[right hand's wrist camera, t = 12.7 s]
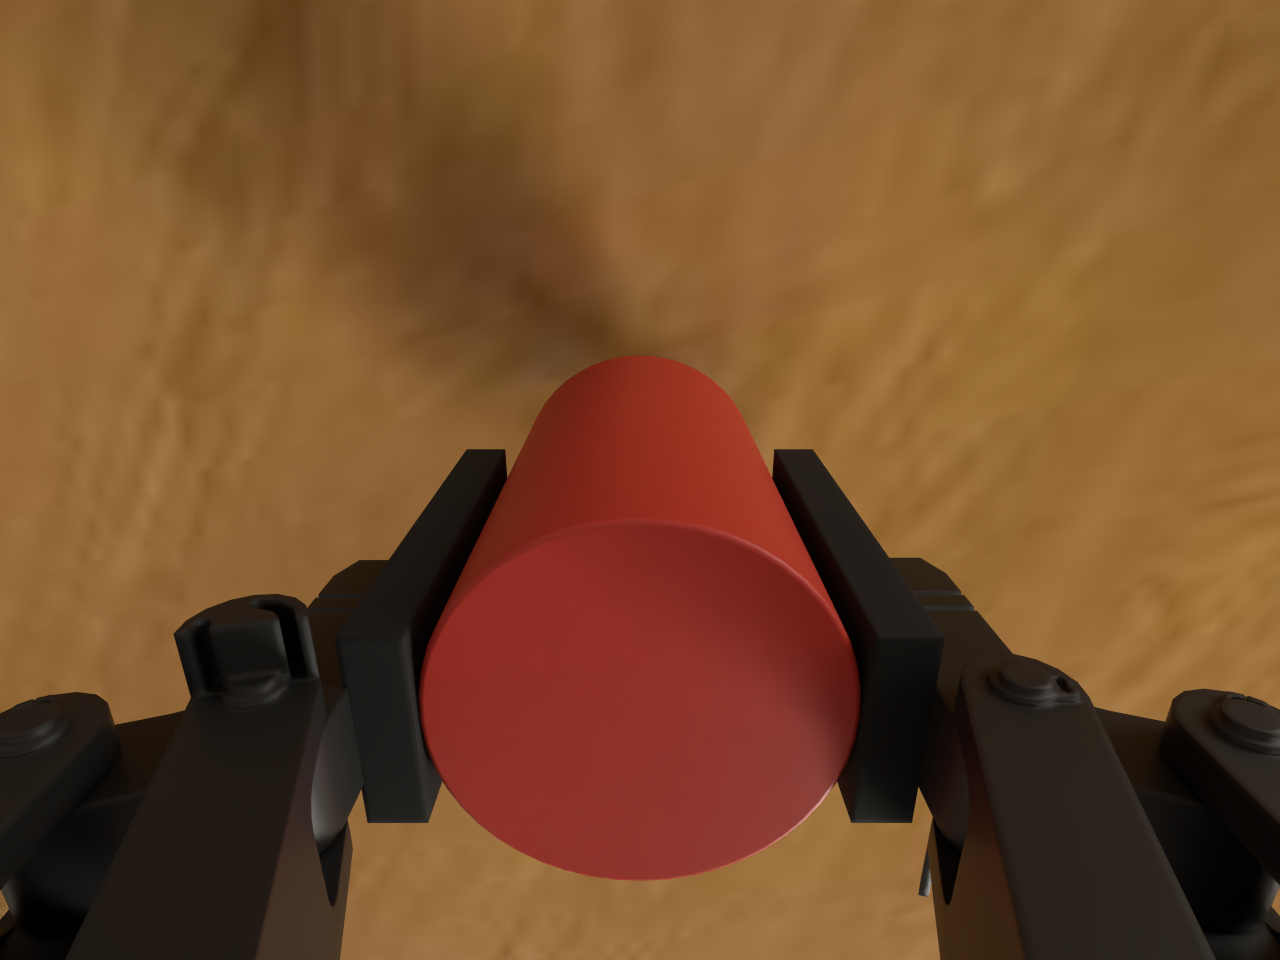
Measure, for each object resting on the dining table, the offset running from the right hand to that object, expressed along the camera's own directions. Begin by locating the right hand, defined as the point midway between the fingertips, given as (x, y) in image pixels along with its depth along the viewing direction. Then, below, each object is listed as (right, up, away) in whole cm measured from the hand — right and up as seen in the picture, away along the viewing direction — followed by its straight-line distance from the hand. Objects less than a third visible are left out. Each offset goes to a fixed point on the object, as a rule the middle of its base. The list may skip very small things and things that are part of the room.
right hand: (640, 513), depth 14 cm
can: (0, +1, +2) cm, 2 cm away
